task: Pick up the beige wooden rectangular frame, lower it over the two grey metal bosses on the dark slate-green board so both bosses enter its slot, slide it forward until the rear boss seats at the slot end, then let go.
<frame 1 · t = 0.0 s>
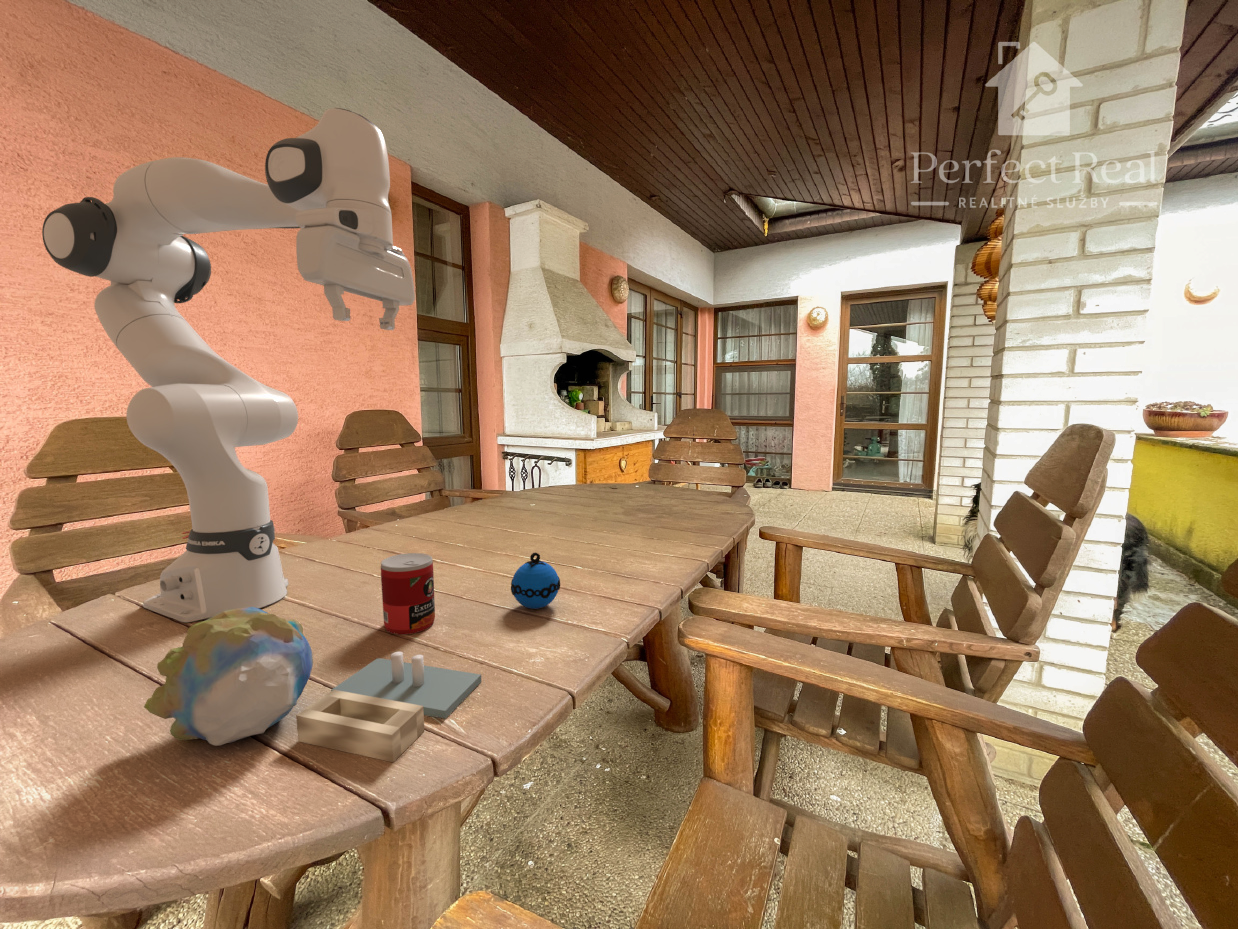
hand: (366, 325, 77), 48 cm above the table, tool pointing down, fingers open, 8 cm apart
canned food: (410, 625, 82), on the table
beige wooden rectangular frame: (362, 736, 55), on the table
boss board: (408, 689, 63), on the table
ornament: (536, 608, 89), on the table
decorative rock: (238, 725, 57), on the table
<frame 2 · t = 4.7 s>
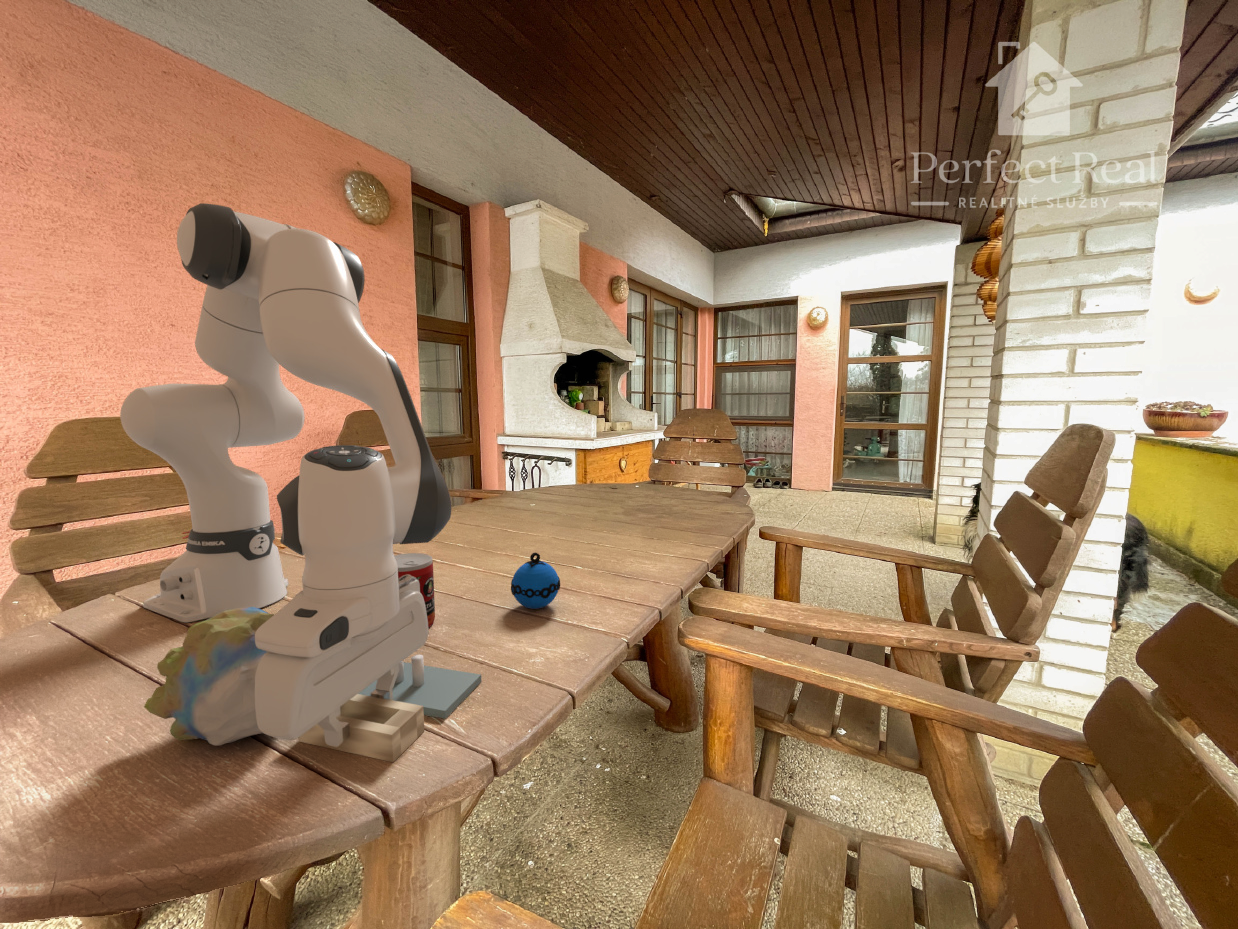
hand: (361, 722, 54), 2 cm above the table, tool pointing down, fingers closed on beige wooden rectangular frame, 5 cm apart
beige wooden rectangular frame: (362, 736, 55), on the table, touching gripper
everything else where it was.
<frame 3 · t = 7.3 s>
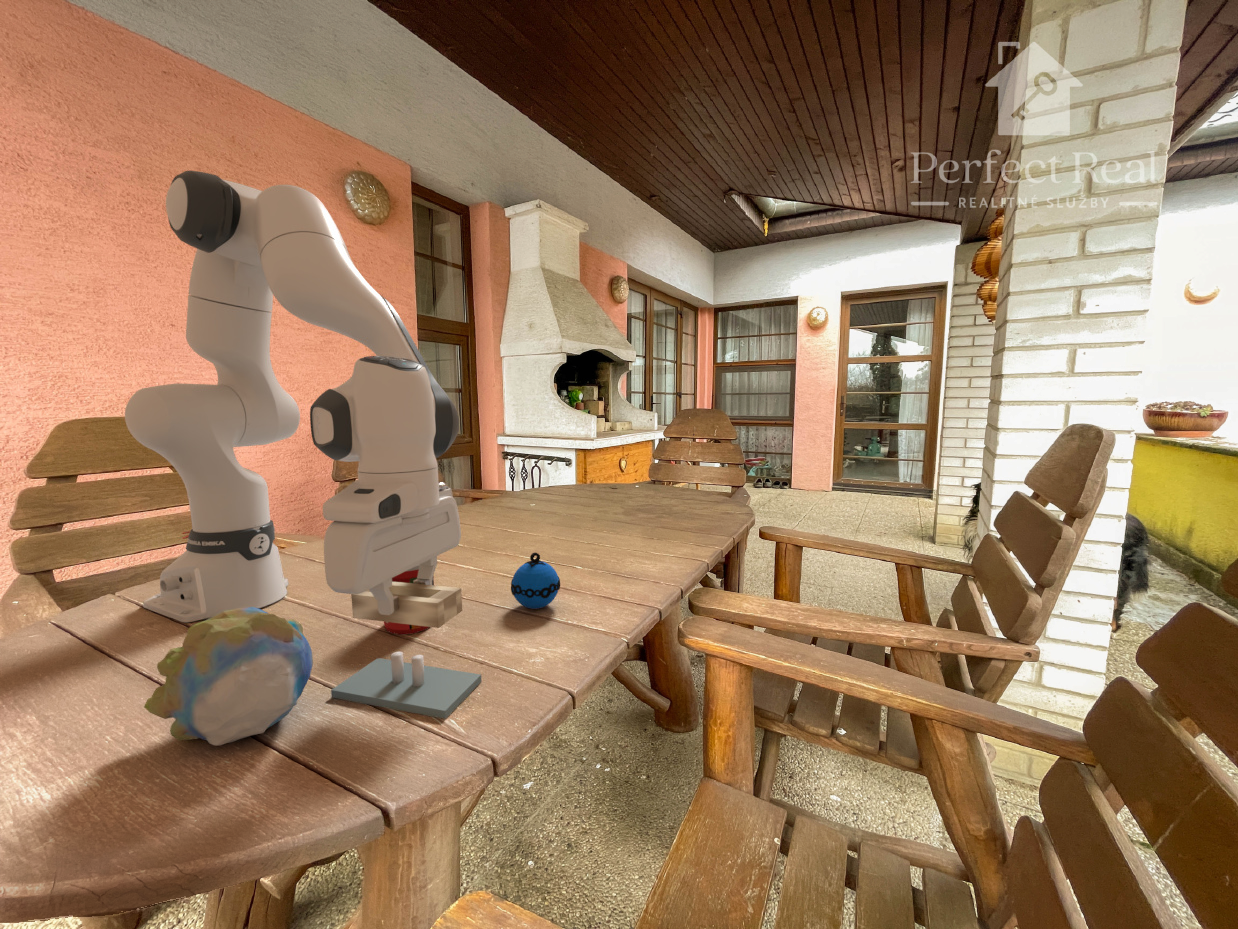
hand: (407, 602, 62), 12 cm above the table, tool pointing down, fingers closed on beige wooden rectangular frame, 5 cm apart
beige wooden rectangular frame: (408, 614, 62), point 10 cm above the table, touching gripper
everything else where it was.
when the fingers open (3 cm above the table, at t = 10.1 s): beige wooden rectangular frame stays where it is, resting on boss board.
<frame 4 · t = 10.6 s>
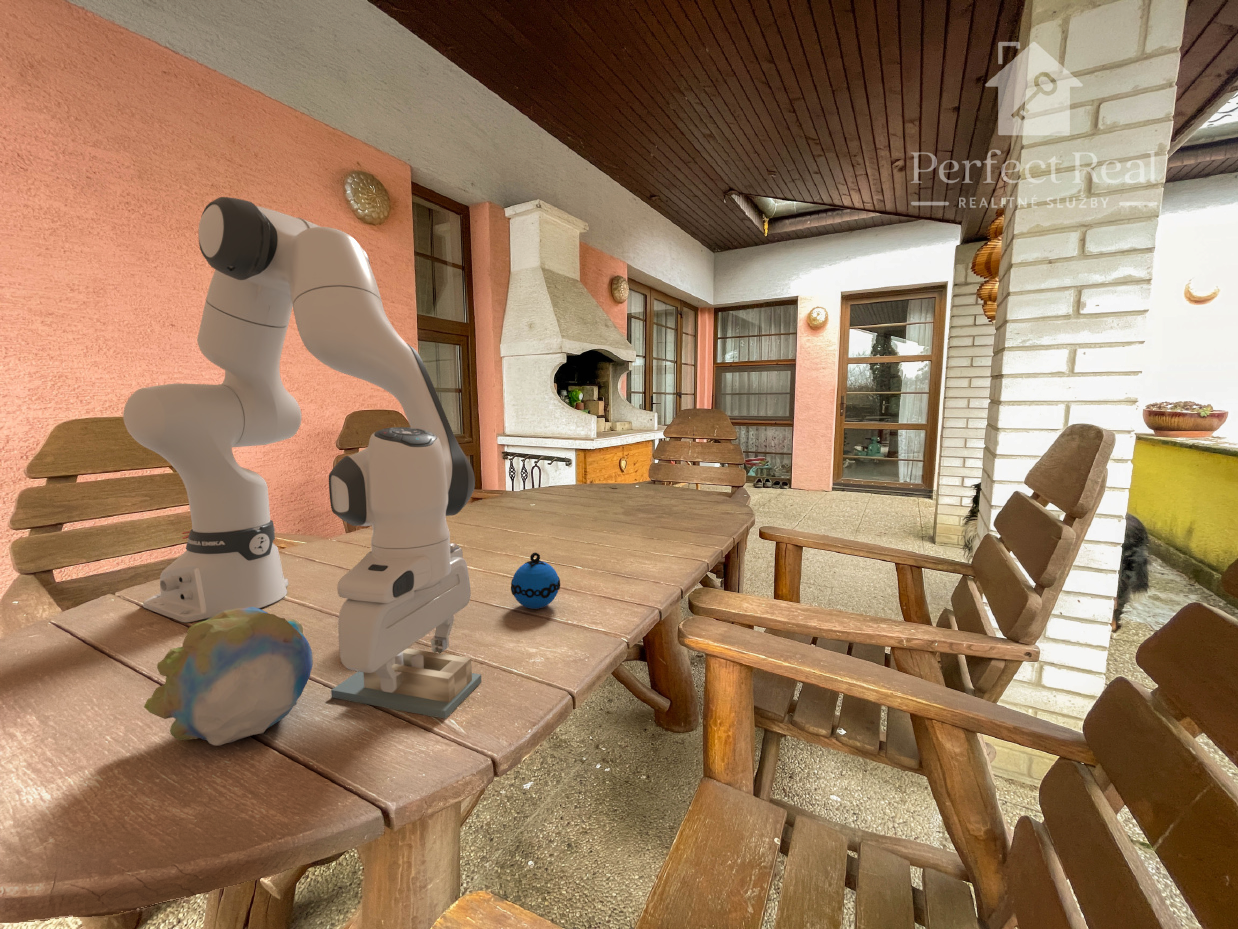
hand: (417, 668, 63), 3 cm above the table, tool pointing down, fingers open, 8 cm apart
beige wooden rectangular frame: (418, 683, 63), point 1 cm above the table, touching boss board
everything else where it was.
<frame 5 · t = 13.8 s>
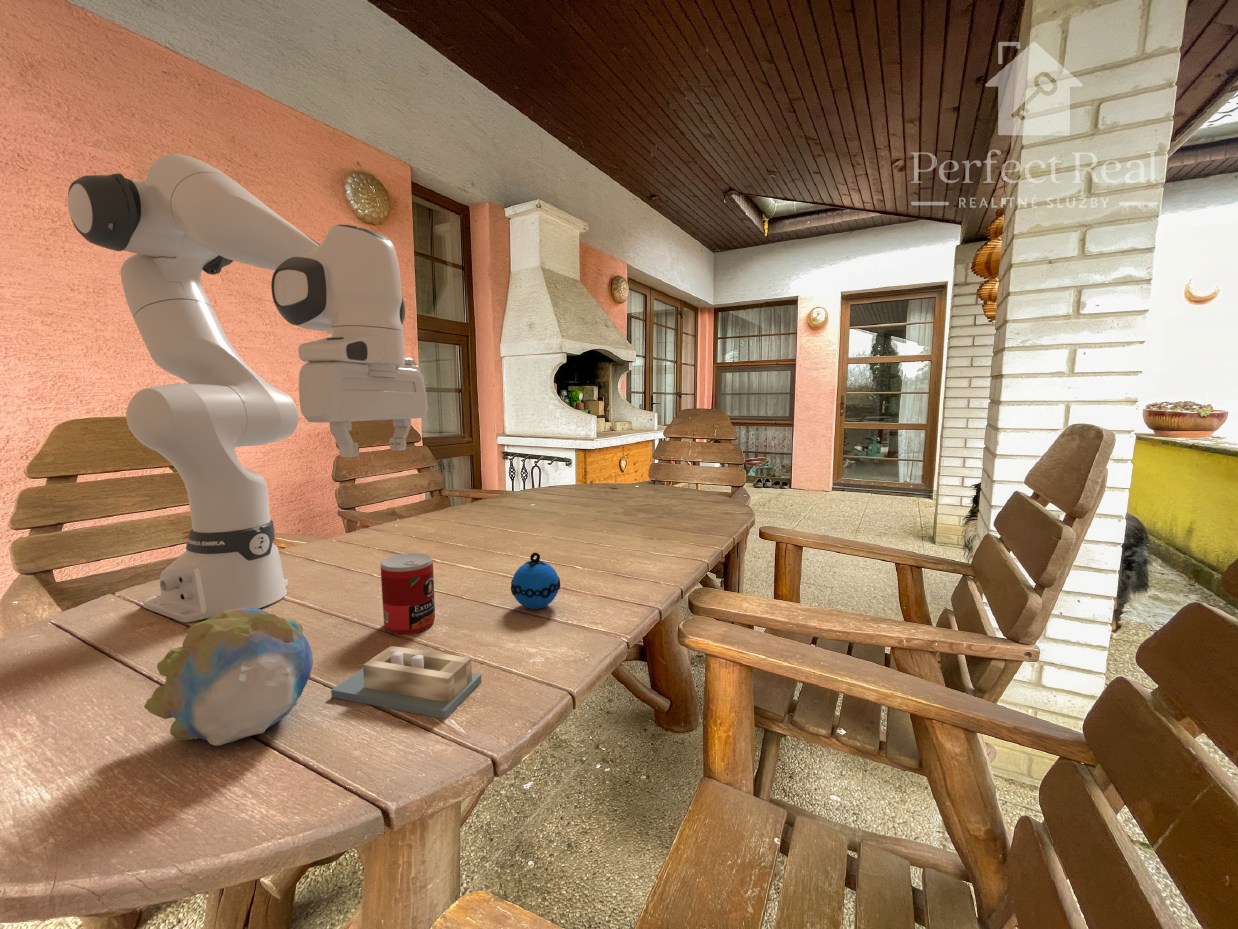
hand: (375, 453, 70), 29 cm above the table, tool pointing down, fingers open, 8 cm apart
nothing on the table moved.
at the end: beige wooden rectangular frame 0.0 cm from the target spot on the boss board, point 1.0 cm above the boss board's base; beige wooden rectangular frame tilted 0°; the gripper is holding nothing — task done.
